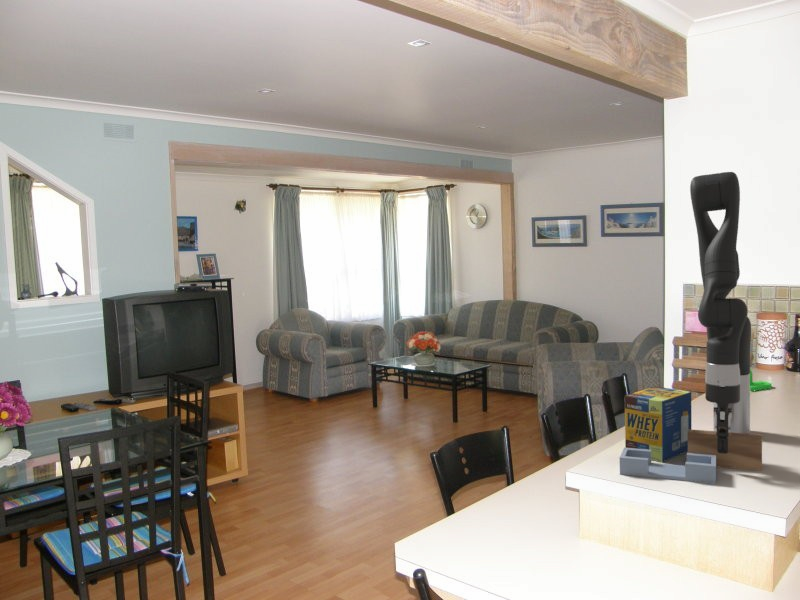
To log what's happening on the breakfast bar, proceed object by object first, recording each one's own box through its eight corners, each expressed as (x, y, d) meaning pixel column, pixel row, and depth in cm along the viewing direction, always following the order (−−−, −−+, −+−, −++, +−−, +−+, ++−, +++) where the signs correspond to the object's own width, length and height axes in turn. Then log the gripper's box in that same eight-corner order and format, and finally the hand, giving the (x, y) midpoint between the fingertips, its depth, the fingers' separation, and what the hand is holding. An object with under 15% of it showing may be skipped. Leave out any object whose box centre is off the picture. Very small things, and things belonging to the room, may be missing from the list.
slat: (688, 460, 168) (688, 429, 167) (761, 467, 161) (761, 434, 161) (687, 464, 165) (687, 432, 165) (761, 471, 158) (761, 437, 158)
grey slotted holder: (624, 463, 168) (624, 447, 167) (716, 472, 159) (716, 455, 159) (619, 474, 160) (619, 457, 160) (715, 483, 151) (715, 466, 151)
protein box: (624, 454, 175) (623, 395, 174) (655, 441, 185) (655, 385, 184) (662, 463, 167) (661, 401, 166) (693, 449, 177) (692, 390, 176)
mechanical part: (750, 393, 239) (750, 370, 238) (736, 389, 244) (736, 368, 244) (775, 389, 243) (775, 367, 242) (761, 386, 248) (761, 364, 248)
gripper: (706, 375, 170) (706, 439, 171) (704, 386, 157) (704, 454, 158) (739, 377, 167) (739, 442, 167) (740, 387, 154) (740, 458, 155)
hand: (722, 448), depth 163 cm, fingers open, 8 cm apart
